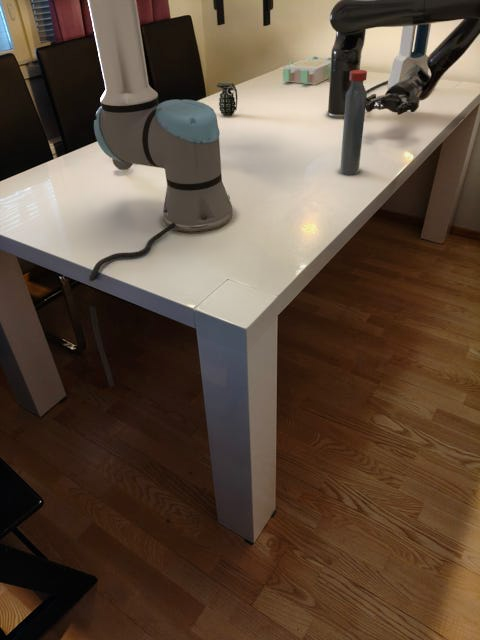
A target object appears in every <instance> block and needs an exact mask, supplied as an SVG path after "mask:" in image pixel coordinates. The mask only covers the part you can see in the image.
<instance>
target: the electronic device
mask: <svg viewBox="0 0 480 640" xmlns="http://www.w3.org/2000/svg"><path fill="white" fill-rule="evenodd" d="M431 27H432V23H431V24H424V25H416V26H402V29H401V37H400V43H399V50H398V51H399V52H398V54H397V55H396V56H395V57H394V59H393V62H392V66H391V70H390V72H389V73H390V74H389V76H388V80H389V81H388V80H387V81H388V83H387V90H388V89H389V88H391V87H392V86H393V85H395V84H396V83H398V82H399V81H401V80H402V77H403V75H404V74H405V72H406V71H407V70H408V69H409V68H410V67H412V66H414V65H419V66H421V67H422V68H423V69H424V70H425V71H426V72H427V73H428V74H429V70H430V69H429V67H428V65H427V58H428V57H429V55H427V51H428V45H429V39H430V34H431ZM415 33H416V34H415Z"/></svg>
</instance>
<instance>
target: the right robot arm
mask: <svg viewBox="0 0 480 640" xmlns="http://www.w3.org/2000/svg"><path fill="white" fill-rule="evenodd" d="M458 20H461V22H459V24H458V25H457V26H456V27H455V28H454V29H452V31H451V32H450V33H449V34H448V35H447V36H446V37H445V38H444V39H443V40H442V41H441V42H440V43H439V44H438V46H436V47H435V48H434V50H433V51H432V52H431V53H430V54H429V55H428V58H427V65H428V67H429V69H428V70H429V72H430V74H429V72H428V73H427V72H426V71H425V70H424V69H423V68H422V67H421V66H419V65H414V66H412V67H410V68H409V69H408V70H407V71H406V72H405V74H404V75H403V77H402V80H401V81H399V82H398V83H396V84H395V85H393V86H392V87H391V88H389V89H388V88H387V91H386V92H385V94H381V95H378V96H377V94H376V93H372V94H371V95H369V96H367V97H366V107H365V111H366V113H371V112H372V111H373V110H379V111H380V110H389V111H390V112H392V113H396V115H397V116H401V115H402V114H405V113H408V111H410V113H415V112H416V111H417V110H418V109H419V107H420V101H425V100H426V99H428V98H429V97H430V96H431V95H432V94H433V92H434V90H435V88H436V87H437V86H438V84H439V82H440V81H441V79H442V77H443V76H444V75H445V74H446V72H447V71H449V69H450V68H451V67H453V66H454V64H456V62H457V61H459V60H460V58H461V57H463V55H464V54H465V53H466V51H467V50H468V49H469V48H470V47H471V46H472V44H473V43H474V42H475V40H476V39H477V38H478V37H479V35H480V0H338V1H337V2H336V3H335V4H334V5H333V7H332V8H331V11H330V14H329V23H330V26H331V28H332V29H333V30H334V31H335V39H334V43H333V46H332V48H331V54H330V56H331V57H330V58H331V71H330V78H329V87H328V88H329V90H328V106H327V116H328V117H330V118H333V119H344V114H345V101H346V94H347V91H348V90H349V88H350V86H351V84H352V81H351V80H349V77H350V71H353V70H361V61H362V52H363V49H364V46H365V41H366V33H367V31H366V30H369V29H374V28H399V27H402V28H403V26H416V27H417V25H424V24H431V25H432V24H438V23H443V22H444V23H445V22H454V21H458ZM388 81H389V79H387V80H386V81H383V82H381V83H379V84H376V85H374V86H371V87H370V88H369V89H366V92H367V93H366V94H368V93H369V92H371V91H373V90H375V89H376V88H379V87H382V86H384V85H386V84H388Z"/></svg>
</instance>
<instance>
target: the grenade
mask: <svg viewBox="0 0 480 640" xmlns="http://www.w3.org/2000/svg"><path fill="white" fill-rule="evenodd" d="M215 87H217V88H219V89H221V93H219V97H218V101H219V102H218V106H219V108H218V109H219V112H220V114H221V115H222V116H224V117H231V116H233V115H234V113H235V112H236V111H237V108H238V89H237V87H236V85H235V84H234V83H233V82H218V83H217V84H216V86H215ZM232 91H233V92H232ZM234 94H235V96H234Z"/></svg>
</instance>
